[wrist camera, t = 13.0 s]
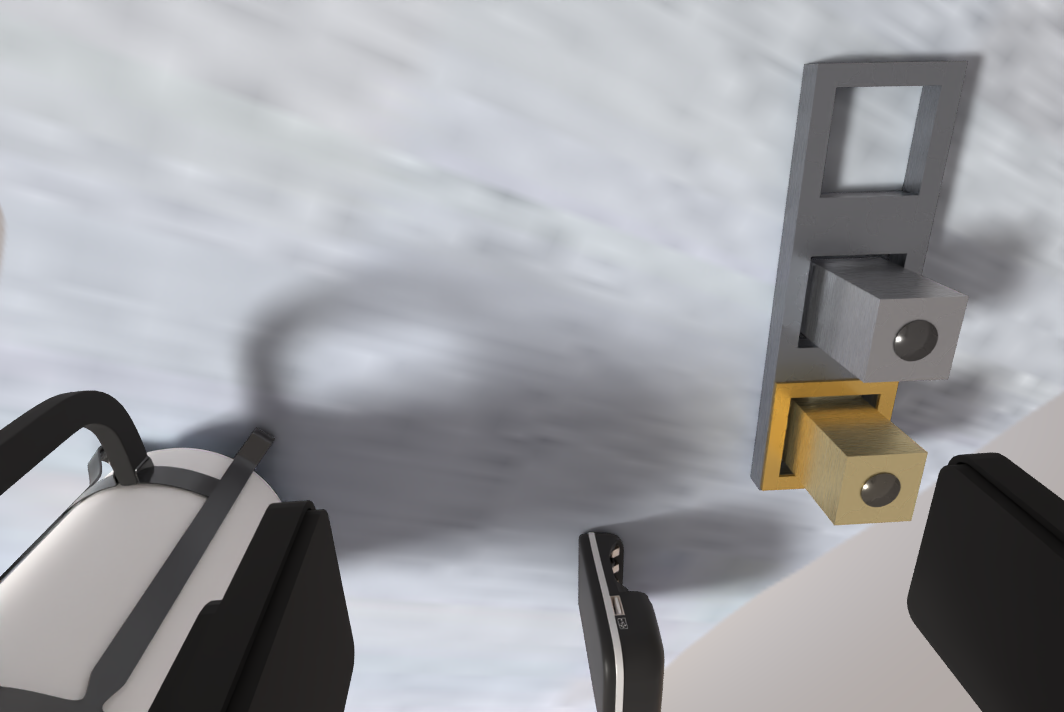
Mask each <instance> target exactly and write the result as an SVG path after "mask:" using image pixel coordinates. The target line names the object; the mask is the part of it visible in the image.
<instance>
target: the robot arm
mask: <svg viewBox="0 0 1064 712" xmlns="http://www.w3.org/2000/svg"><path fill="white" fill-rule="evenodd" d="M907 605H908V610H909V614H910V616H911V619H912V620H913V622H914V624H915V625H916V626H917V628H918V629H919V630H920V632H921V633H922V634H923V635H924V637H925V638H926V639H927V640H928V642H929V643H930V645H931V646H932V647H933V648H934V650H935V651H936V652H937V654H938V655H939V656H940V657H941V659H942V660H943V661H944V662H945V664H946V665H947V667H948V668H949V669H950V670H951V672H952V673H953V674H954V676H955V677H956V678H957V679H958V681H959V682H960V683H961V685H962V686H963V687H964V689H965V690H966V691H967V692H968V694H969V695H970V696H971V698H972V699H973V700H974V701H975V703H976V704H977V705H978V707H979V708H980V709H981V711H982V712H1064V500H1062V499H1061V498H1060V497H1058V496H1057V495H1056V494H1054V493H1053V492H1052V491H1050V490H1049V489H1048V488H1046V487H1045V486H1044V485H1042V484H1041V483H1040V482H1038V481H1037V480H1036V479H1034V478H1033V477H1032V476H1030V475H1029V474H1028V473H1026V472H1025V471H1024V470H1022V469H1021V468H1020V467H1018V466H1017V465H1015V464H1014V463H1013V462H1011V461H1010V460H1009V459H1008V458H1006V457H1005V456H1003V455H1001V454H999V453H978V454H964V455H957V456H954V457H953V458H952V459H951V460H950V461H949V463H948V465H947V466H944V467H943V468H942V469H941V470H940V473H939V475H938V479H937V483H936V487H935V491H934V495H933V499H932V503H931V507H930V511H929V515H928V519H927V523H926V527H925V530H924V534H923V538H922V542H921V546H920V550H919V554H918V558H917V562H916V566H915V569H914V573H913V577H912V581H911V585H910V589H909V593H908V598H907ZM353 666H354V641H353V636H352V631H351V626H350V621H349V616H348V611H347V606H346V601H345V596H344V591H343V586H342V581H341V576H340V571H339V566H338V561H337V556H336V551H335V546H334V541H333V536H332V531H331V526H330V521H329V517H328V513H327V511H326V510H324V509H321V510H316V509H315V506H314V504H313V502H312V501H310V500H307V501H293V502H279V503H272V504H270V505H269V506H268V508H267V509H266V511H265V513H264V515H263V517H262V519H261V521H260V523H259V525H258V527H257V529H256V531H255V533H254V535H253V537H252V540H251V542H250V544H249V546H248V548H247V550H246V552H245V554H244V556H243V558H242V560H241V562H240V564H239V566H238V568H237V570H236V572H235V574H234V576H233V578H232V580H231V582H230V584H229V586H228V588H227V590H226V592H225V594H224V596H223V599H222V600H213V601H210V602H209V603H207V604H206V605H204V607H203V608H202V610H201V611H200V613H199V614H198V616H197V618H196V620H195V622H194V624H193V626H192V628H191V630H190V631H189V633H188V635H187V637H186V639H185V641H184V643H183V645H182V647H181V649H180V651H179V653H178V655H177V656H176V658H175V660H174V662H173V664H172V666H171V668H170V670H169V672H168V674H167V676H166V678H165V679H164V681H163V683H162V685H161V687H160V689H159V691H158V693H157V695H156V697H155V699H154V701H153V702H152V704H151V706H150V708H149V710H148V712H344V709H345V704H346V699H347V695H348V690H349V686H350V681H351V676H352V672H353Z"/></svg>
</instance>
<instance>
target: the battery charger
mask: <svg viewBox="0 0 1064 712" xmlns="http://www.w3.org/2000/svg"><path fill="white" fill-rule="evenodd" d="M623 554H624V550H623V544H622V541H621V539H620V538H619V537H618V536H616V535H613V534H608V533H594V532H588V534H582V535H580V537H579V571H578V605H579V610H580V616H581V621H582V627H583V633H584V639H585V645H586V651H587V657H588V663H589V668H590V674H591V680H592V686H593V691H594V697H595V703H596V708H597V712H661V702H662V691H663V676H664V650H663V644H662V640H661V635H660V631H659V627H658V623H657V620H656V616H655V612H654V609H653V606H652V604H651V602H650V600H649V598H648V596H647V595H646V594H645V593H642V592H638V591H628V589H627V588H626V587H624V586H623V585H622V581H623Z"/></svg>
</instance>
